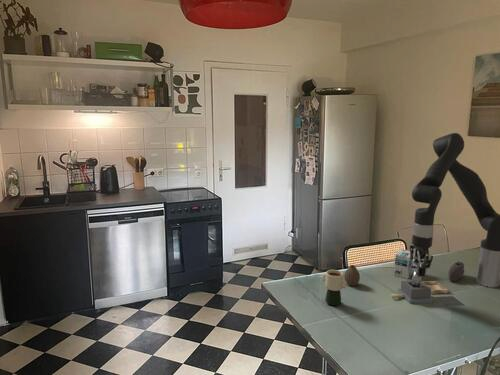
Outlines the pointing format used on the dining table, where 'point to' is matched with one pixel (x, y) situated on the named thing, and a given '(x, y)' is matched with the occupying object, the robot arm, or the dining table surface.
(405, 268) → the light bulb box
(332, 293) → the character mug
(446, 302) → the mat
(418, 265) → the grey tabbed block
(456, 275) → the perforated stone tool
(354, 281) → the vase
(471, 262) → the dining table surface
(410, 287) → the block
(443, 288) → the tray
